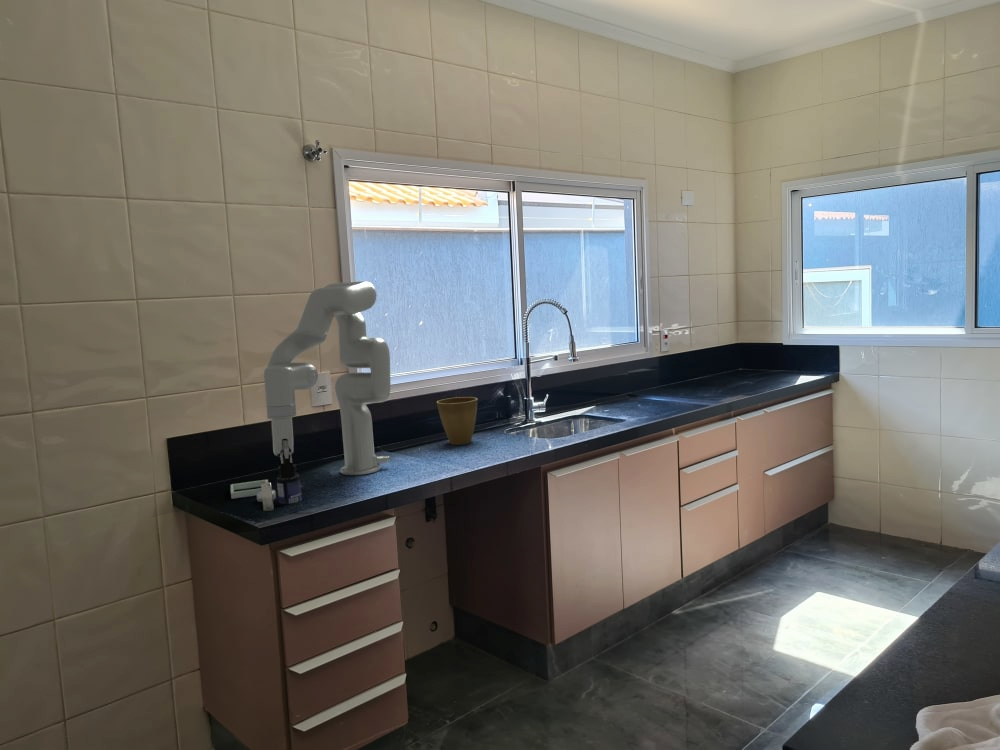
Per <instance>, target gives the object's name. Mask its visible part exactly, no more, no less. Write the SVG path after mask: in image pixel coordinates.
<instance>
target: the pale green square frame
mask: <svg viewBox="0 0 1000 750" xmlns="http://www.w3.org/2000/svg"><path fill="white" fill-rule="evenodd" d="M266 482H269V479H262V480H254V481H247V482H240V483H232V484H230V497H231V499H232V500H233V499H238V498H246V497H253V496H257V494H256V493H257V492H259V491H262V490H261V484H262V483H266ZM251 488H252V489H251ZM254 488H255V489H254ZM237 490H238V491H237Z"/></svg>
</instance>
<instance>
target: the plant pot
mask: <svg viewBox="0 0 1000 750" xmlns="http://www.w3.org/2000/svg"><path fill="white" fill-rule="evenodd" d="M436 404H437V405H436V407H437V409H438V415H439V418H440V421H441V424H442V427H443V429H444V432H445V434H446V437H447V440H448V441H449V443H450V445H452V446H453V445H454V446H462V445H467V444H471V442H472V439H473V434H474V431H475V426H476V420H477V413H478V412H477V411H478V398H477V397H473V396H466V397H465V396H462V397H460V396H459V397H451V398H445V399H440V400H437V401H436Z"/></svg>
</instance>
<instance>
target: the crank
mask: <svg viewBox="0 0 1000 750" xmlns="http://www.w3.org/2000/svg"><path fill="white" fill-rule="evenodd" d="M260 488H261V490H262V491H259V492H257V493H256V494H257V495H256V500H257V502H259V503H261V502H262V508H263V511H264V512H269V511H273V510H274V509H275V508H274V500H276V499H277V496H276V495H277V494H276V490H275V489H273V487H272V482H270V481H268V482H266V483H262V484H261V487H260Z"/></svg>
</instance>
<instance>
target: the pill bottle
mask: <svg viewBox="0 0 1000 750" xmlns="http://www.w3.org/2000/svg"><path fill="white" fill-rule="evenodd" d="M277 469H278V470H277V471H278V473H279V475H278V476H277V477H276V485H277V486H276V487H277V496H278V503H279V504H283V505H290V504H295V503H296V504H297V503H299V502H301V501H302V500H303V498H302V487H301V476H300V474H299V473H298V472H296V471H297V465H296V464H294V463H293V470H294V477H292V478H284V479H283V478H281V467H280V466H279V465H278V467H277Z"/></svg>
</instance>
